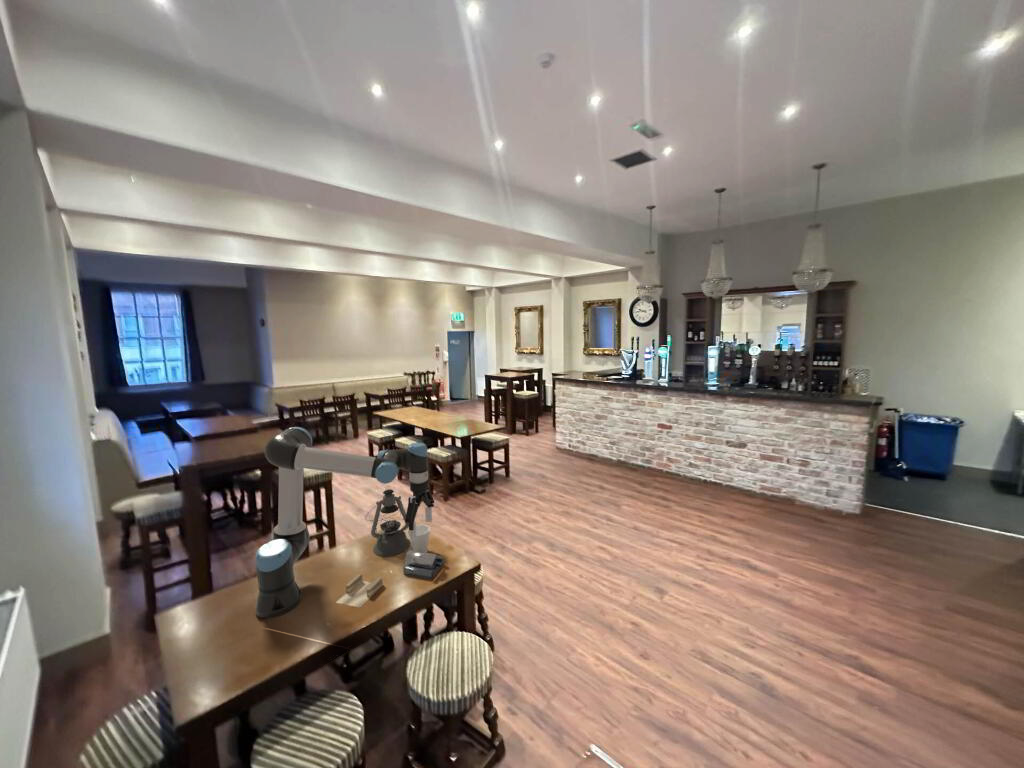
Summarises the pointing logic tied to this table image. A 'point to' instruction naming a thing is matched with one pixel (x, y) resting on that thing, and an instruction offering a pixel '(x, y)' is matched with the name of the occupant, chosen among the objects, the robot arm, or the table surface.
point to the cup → (420, 538)
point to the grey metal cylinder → (421, 559)
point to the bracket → (359, 591)
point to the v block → (424, 570)
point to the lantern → (390, 527)
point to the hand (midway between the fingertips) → (421, 528)
